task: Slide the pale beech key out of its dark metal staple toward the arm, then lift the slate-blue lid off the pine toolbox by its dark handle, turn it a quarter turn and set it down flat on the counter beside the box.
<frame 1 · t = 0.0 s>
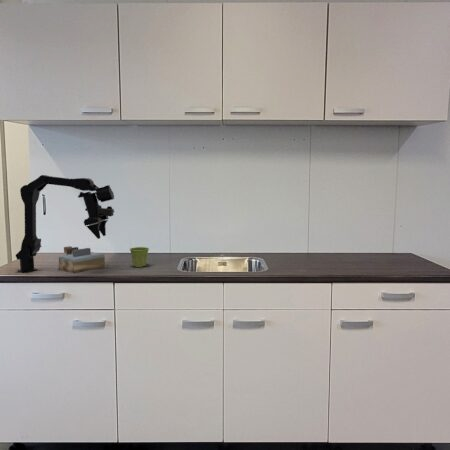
hand: (101, 237, 171), 15 cm above the counter, tool pointing down, fingers open, 9 cm apart
plant pot: (139, 266, 181), on the counter
lid: (82, 259, 176), point 4 cm above the counter, touching toolbox
toolbox: (82, 268, 176), on the counter
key: (73, 250, 180), point 8 cm above the counter, slide at 0.0 cm
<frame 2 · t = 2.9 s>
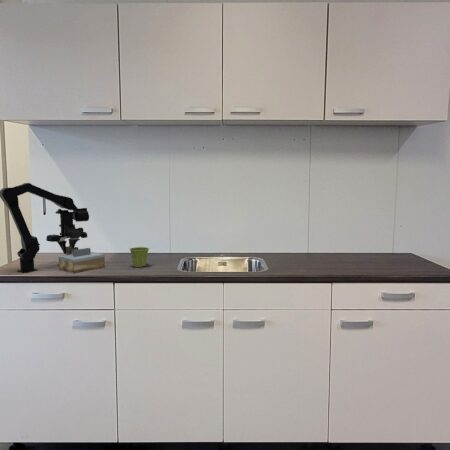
hand: (68, 253, 183), 6 cm above the counter, tool pointing down, fingers closed on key, 3 cm apart
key: (73, 250, 180), point 8 cm above the counter, slide at 0.0 cm, touching gripper
everything else where it was.
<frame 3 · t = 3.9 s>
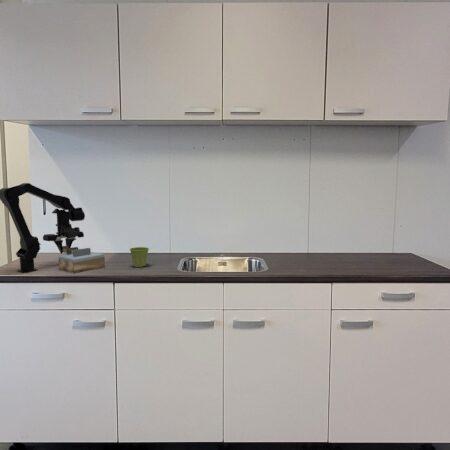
hand: (64, 252, 184), 6 cm above the counter, tool pointing down, fingers closed on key, 3 cm apart
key: (69, 249, 182), point 8 cm above the counter, slide at 3.2 cm, touching gripper
everything else where it was.
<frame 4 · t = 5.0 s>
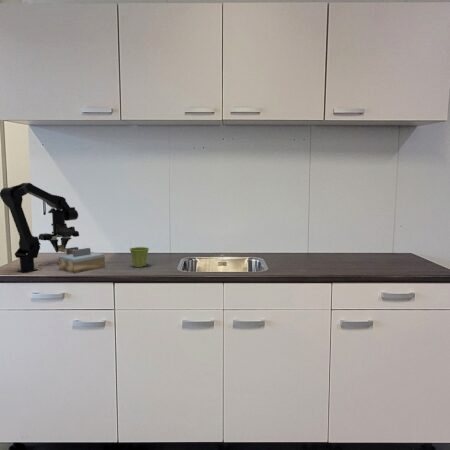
hand: (60, 252, 187), 6 cm above the counter, tool pointing down, fingers closed on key, 3 cm apart
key: (64, 249, 184), point 8 cm above the counter, slide at 7.4 cm, touching gripper
everything else where it was.
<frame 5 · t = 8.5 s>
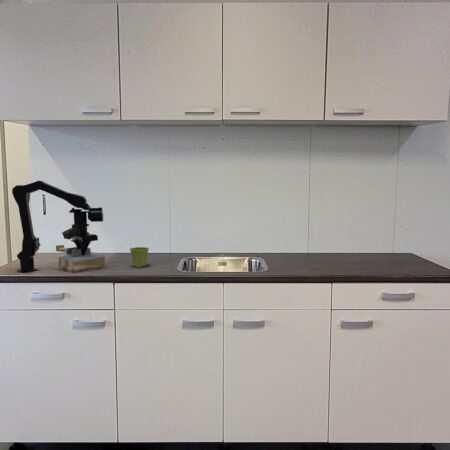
hand: (81, 254, 175), 7 cm above the counter, tool pointing down, fingers closed on lid
lid: (82, 259, 176), point 4 cm above the counter, touching gripper, toolbox
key: (64, 249, 184), point 8 cm above the counter, slide at 7.5 cm
everything else where it was.
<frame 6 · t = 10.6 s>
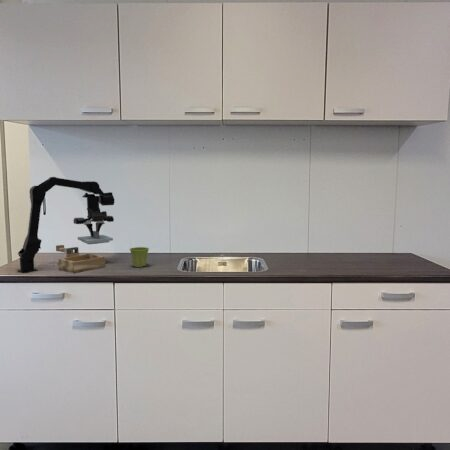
hand: (94, 236, 188), 13 cm above the counter, tool pointing down, fingers closed on lid
lid: (95, 241, 189), point 11 cm above the counter, touching gripper
everything else where it was.
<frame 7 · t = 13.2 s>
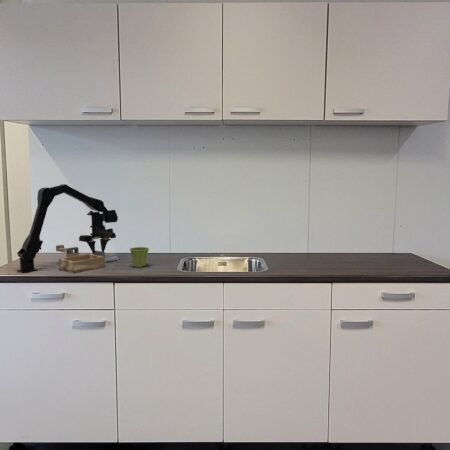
hand: (98, 253, 194), 4 cm above the counter, tool pointing down, fingers open, 5 cm apart
lid: (98, 261, 194), on the counter
everything else where it was.
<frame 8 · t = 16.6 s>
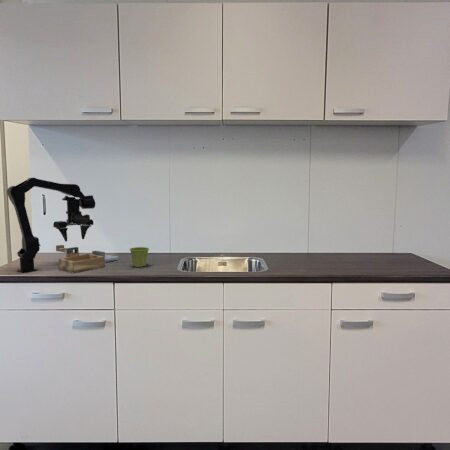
hand: (74, 240, 184), 12 cm above the counter, tool pointing down, fingers open, 9 cm apart
nothing on the counter moved.
at the end: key slide at 7.5 cm; lid inside the target area (0.1 cm from its centre), on the counter; lid tilted 0° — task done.
